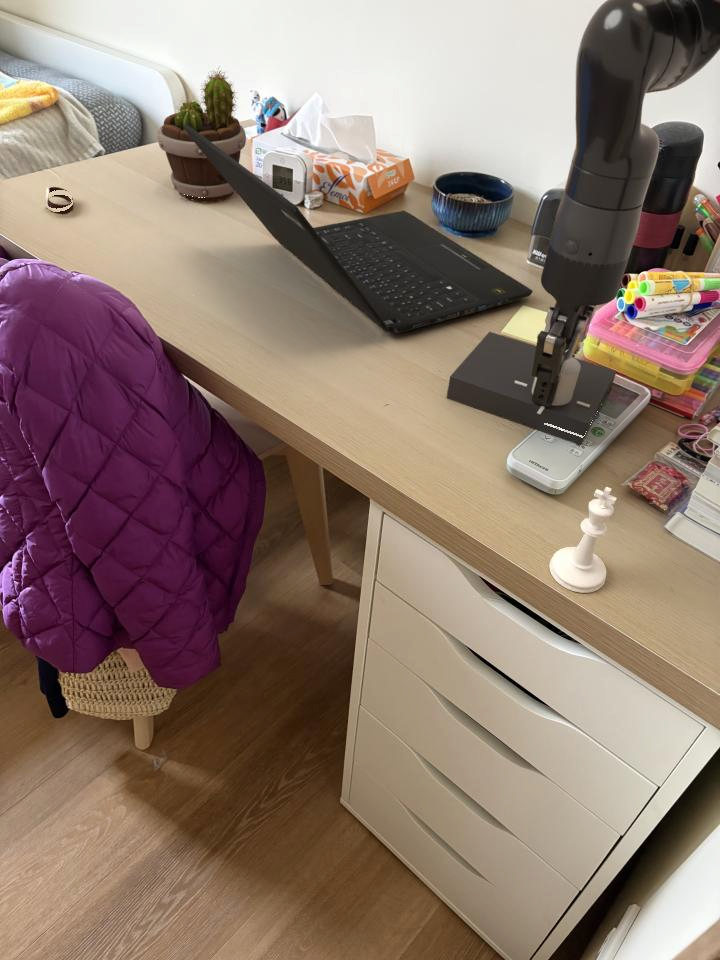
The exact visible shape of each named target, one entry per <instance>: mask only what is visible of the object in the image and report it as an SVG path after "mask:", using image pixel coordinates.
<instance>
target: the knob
mask: <svg viewBox="0 0 720 960" xmlns="http://www.w3.org/2000/svg"><path fill="white" fill-rule="evenodd" d="M575 358H576V357H574V358H573V357H572V358H570V359H569V360H567V361H566V364H565V367H564V369H563V372H562V373H563V375H562V377H561V378H560V380H559V384H558V387H557V391H556V394H555V398H554V401H553V403H552V405H554V406H559V405H565V404H567V403H569V402H570V401H571V399H572V396H573V392H574V389H575V385H576V382H577V379H578V375H579V372H580V368H581V365H580V363H579V362H578V361H577V360H576V359H577V358H576V359H575ZM536 380H537V377H535V379H534V383H533V387H532V394H533V392H534V388H535V384H536Z"/></svg>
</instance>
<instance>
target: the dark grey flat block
mask: <svg viewBox="0 0 720 960" xmlns="http://www.w3.org/2000/svg"><path fill="white" fill-rule="evenodd" d="M535 351H536V345H534V344H531V343H527V342H524V341H521V340H519V339H515V338H511V337H509V336H505V335H502V334H498V333H496V332H492V331H488V333H487V334H485V336H484V337H483V338H482V340H480V341H479V343H478V344H477V345H476V346H475V347H474V349H472V351H471V352H470V353H469V354H468V355H467V357H465V359H464V360H463V361H462V362H461V363H460V364H459V366H457V368H456V369H455V370H454V372H452V373H451V375H450V376H449V381H448V388H447V392H446V393H447V394H446V399H449V400H451V401H455V402H457V403H460V404H463V405H466V406H468V407H472V408H473V409H477V410H479V411H480V410H481V411H483V412H485V413H487V414H492V415H495V416H497V417H500V418H503V419H506V420H508V421H512V422H514V423H517V424H520V425H523V426H525V427H528V428H531V429H534V430H537V431H539V432H542V433H546V434H548V435H551V436H554V437H557V438H560V439H563V440H565V441H568V442H571V443H574V444H576V445H579V446H582V444H583V442H584V440H585V438H586V437H587V435H588V433H589V431H590V429H591V427H592V425H593V423H594V422H595V419H596V418H597V416H598V414H599V412H600V411H601V409H602V407H603V405H604V403H605V402H606V400H607V398H608V396H609V394H610V392H611V390H612V388H613V387H612V386H613V384H614V380H615V378H616V374H617V372H618V371H617V370H615V369H612V368H609V367H605V366H603V365H598V364H595V363H593V362H589V361H586V360H583V359H579V358H576V357H574V358H575V359H576V360H577V361H578V362H579V363H580V365H581V368H580V372H579V375H578V379H577V382H576V385H575V389H574V392H573V396H572V399H571V401H570V402H569V403H567V404H565V405H559V406H554V405H551V406H550V407H545V406H542V405H539V404H536V403H534V402H533V401H532V396H533V394H532V387H533V383H534V379H535V377H534V376H532V369H533V364H534V358H535ZM601 404H602V405H601ZM597 411H598V412H597ZM596 413H597V414H596ZM595 415H596V416H595ZM592 420H593V421H592ZM591 422H592V423H591ZM544 423H548V424H552V425H554V426H557V427H560V428H562V429H565V430H568V431H571V432H574V433H577V434H579V435H582V436H584V435H585V436H584V437H583V438H581V437H579V436H576V435H573V434H570V433H567V432H564V431H561V430H558V429H556V428H553V427H550V426H547V425H544ZM590 424H591V425H590ZM586 431H587V432H586ZM585 433H586V434H585Z"/></svg>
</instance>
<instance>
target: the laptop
mask: <svg viewBox="0 0 720 960" xmlns="http://www.w3.org/2000/svg"><path fill="white" fill-rule="evenodd" d="M184 129H185V130H186V131H187V133H188V135H189V136H190V138H191V139H192V140H193V141H194V142H195V144H196V145H197V146H198V147H199V149H200V150H201V151H202V152H203V153H204V155H205V156H206V157H207V158H208V159H209V161H210V162H211V163H212V164H213V166H214V167H215V168H216V169H217V170H218V172H219V173H220V174H221V175H222V176H223V178H224V179H225V180H226V181H227V182H228V184H229V185H230V186H231V187H232V188H233V189H234V191H235V192H234V193H236V194H237V195H238V196H239V197H240V199H241V200H242V201H243V202H244V204H245V205H246V206H247V207H248V209H250V210H251V212H252V213H253V214H254V215H255V216H256V218H257V219H258V220H259V222H261V225H263V226H264V228H265V229H266V230H267V231H268V232H269V234H270V235H271V236H272V238H274V240H276V241H277V242H278V243H279V244H280V245H281V246H283V247H284V248H285V249H287V250H288V252H290V253H291V254H293V256H295V257H296V258H297V259H298V260H300V261H301V262H302V263H303V264H304V265H306V266H307V267H308V268H309V269H310V270H311V271H313V272H314V273H315V274H316V275H318V276H319V277H320V278H321V279H323V281H324V282H326V283H327V284H328V285H329V286H330V287H331V288H333V289H334V290H335V291H336V292H337V293H338V294H340V295H341V296H342V297H343V298H345V299H346V300H347V301H348V302H349V303H351V304H352V305H353V306H354V307H356V308H357V309H358V310H359V311H360V312H362V313H363V314H364V315H365V316H366V317H368V319H370V320H371V321H372V322H373V323H374V324H376V325H377V326H379V328H381V330H382V331H383V332H385V333H393V334H400V333H404V332H407V331H411V330H415V329H419V328H423V327H426V326H431V325H434V324H437V323H441V322H446V321H447V320H451V319H455V318H458V317H459V318H460V317H462V316H466V315H470V314H474V313H476V312H477V313H478V312H481V311H485V310H488V309H492V308H495V307H499V306H502V305H505V304H511V303H512V302H516V301H519V300H522V299H525V298H528V297H530V296H531V295H532V294H533V290H532V288H529V287H528V286H526V285H525V284H523V283H521V282H520V281H519V280H517V279H516V278H514V277H512V276H510V275H509V274H507V273H505V272H504V271H501V270H500V268H499V269H498V268H497V267H495V266H494V265H492V264H491V263H489V262H488V261H485V259H483V258H482V257H479V256H478V255H476V254H475V253H474V252H472V251H470V250H468V249H467V248H465V247H464V246H462V245H461V244H459V243H457V242H455V241H454V240H452V239H451V238H449V237H448V236H446V235H444V234H443V233H441V232H440V231H438V230H436V229H435V228H433V227H432V226H430V225H428V224H427V223H425V222H424V221H422V220H421V219H419V218H418V217H417V216H415V215H413V214H412V213H410V212H407V211H406V210H400V211H394V212H389V213H383V214H378V215H372V216H369V217H363V218H358V219H352V220H348V221H341V222H336V223H331V224H326V225H325V224H324V225H321V226H315V227H313V226H312V225H311V223H310V222H309V220H308V219H307V218H306V216H305V215H304V214H303V213H302V212H301V210H300V209H299V208H298V206H297V205H295V204H294V203H293V202H292V201H290V200H289V199H288V198H286V197H285V196H283V195H282V194H281V193H280V192H278V191H277V190H276V189H274V188H273V187H272V186H271V185H269V184H267V183H266V182H265V181H264V180H262V179H260V178H259V177H258V176H257V175H255V174H254V173H253V172H251V170H249V169H247V168H246V167H245V166H243V164H240V162H239V163H238V162H237V161H235V160H234V159H233V158H231V157H230V156H229V155H227V154H226V153H225V152H224V151H222V150H221V149H220V148H218V147H217V146H216V145H214V144H213V143H212V142H210V141H209V140H208V139H206V138H205V137H204V136H202V135H201V134H199V133H198V132H197V131H196V130H194V129H193V128H191V127H190V126H189V125H187V124H185V125H184Z"/></svg>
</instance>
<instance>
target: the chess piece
mask: <svg viewBox="0 0 720 960" xmlns="http://www.w3.org/2000/svg"><path fill="white" fill-rule="evenodd" d="M611 491H612V488H611V487H608V486H606V487H605V488H604V490H603V491H602V490H600V489H599V488H597V489H595V491H594V494H593V497H595V498H594V499H591V500H590V501H589V503H588V505H587V507H588V508H587V509H588V517H586V518H584V519H583V520H582V521H581V522H580V529H581V531H582V532H583V533H584V534H583V536H582V538H581V540H580V541H579V543H578V545H577V546H565V547H561V548H560V549H558V550H557V551H555V552H554V554H553V556H552V557H551V559H550V561H549V572H550V575H551V576H552V578H553V579H554V580H555V582H556V583H557V584H559V585H560V586H561V587H563V588H565V589H566V590H569V591H572V592H575V593H580V594H581V593H582V594H588V593H594V592H596V591H598V590H600V589H601V588H602V587H603V586H604V584H605V583H606V578H607V568H606V565H605V563H604V561H603V560H602V559H601V558H600V557H599V556H598V555H597V554H596V553H594V552H595V547H596V542H597V539H598V538H602V537H604V536H605V535H606V534H607V530H608V529H607V526H606V524H605V523H606V521H607V520H608V519H609V518H610V517H611V516H612V515H613V514H614V511H615V509H614V506H613V505H615V503H616V502H617V497H615V496H614V495H611Z"/></svg>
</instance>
